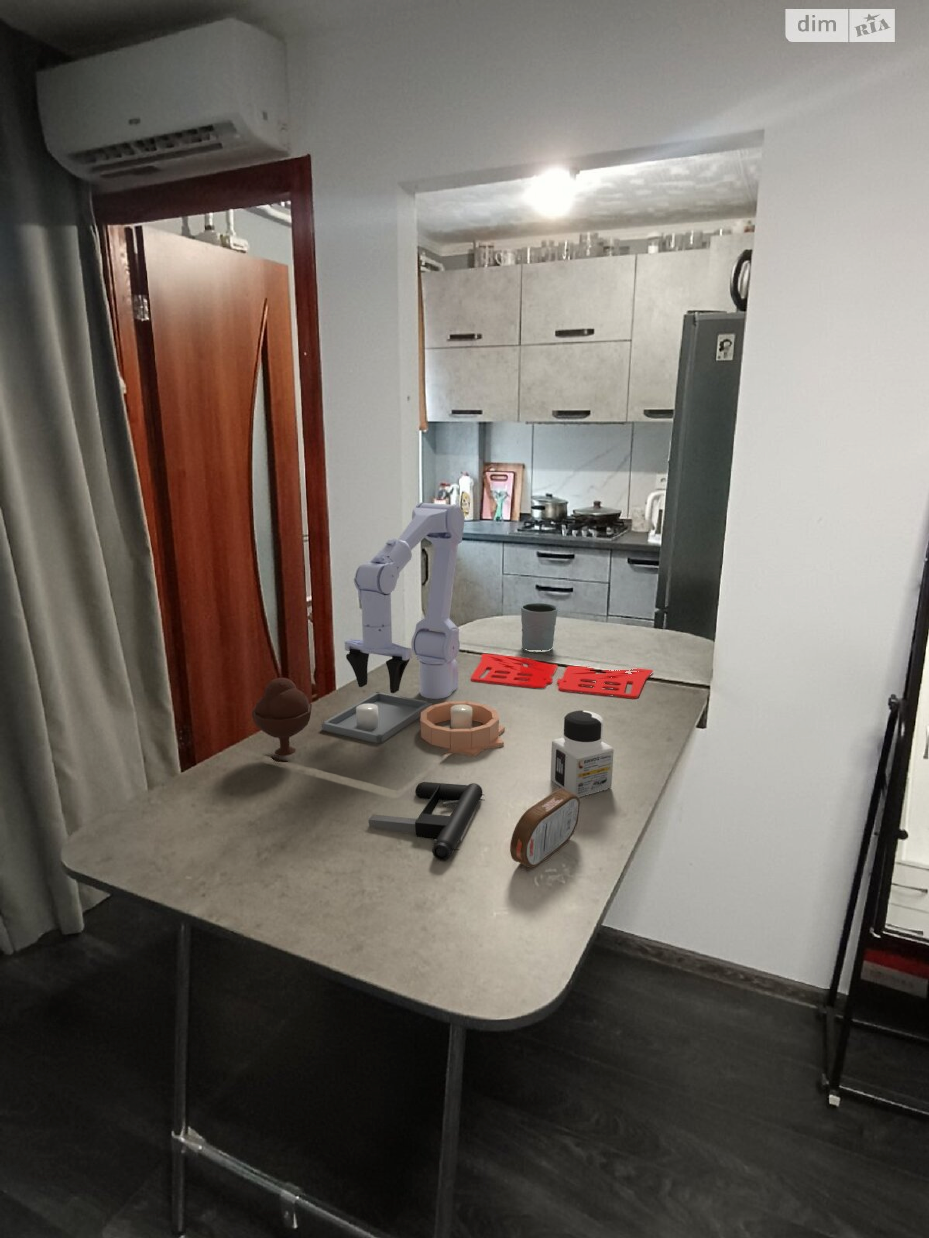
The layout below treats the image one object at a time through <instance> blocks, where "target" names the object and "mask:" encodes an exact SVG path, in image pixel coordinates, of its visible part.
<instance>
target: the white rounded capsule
mask: <svg viewBox="0 0 929 1238" xmlns="http://www.w3.org/2000/svg"><path fill="white" fill-rule="evenodd" d="M356 717H357V728H358V729H361V730H373V729H375V728H377V727H378V726H379V723H378V706H377V705H375V704H361V705H359V706H357V707H356Z"/></svg>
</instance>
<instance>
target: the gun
mask: <svg viewBox="0 0 929 1238" xmlns="http://www.w3.org/2000/svg"><path fill="white" fill-rule="evenodd" d="M414 793H415V796H416V797H417V798H418V799H423V800H424V799H425V800H428V801H427V803H426V805H425V806H424V808H423V810H422V811H421V812H420V814H418V817H417V818H414V817H413V818H412V817H403V816H402V817H401V816H393V815H381V814H372V815H371V816H370V817H369V818H368V827H369V828H373V829H378V830H379V829H380V830H385V831H392V832H399V833H403V834H404V833H405V834H411V835H412V834H414V835H415V837H416V838H421V839H422V838H423V839H429V840H435V842H434V843H433V848H432V856H433V857H434V858H435V859H436V860H438V861H441V862H442V861H446V860H447V859H449V857H451V856H452V854H453V853H454V851H460V849H459V848H456V847H457V846H458V843H459V842H462V841H463V839H464V838H463V837H464V836H465V834H466V833H467V830H468V828H469V826H470V825H471V822H472V820H473V818H474V816H475V814H476V811H475V810H476V808H477V806H478V805H479V802H480V801H484V799H482V796H484V794H483V788H482V786H481V785H479V784H478V783H476V782H475V783H474V782H473V783H470V784H468V785H467V784H458V783H457V784H456V783H455V784H454V783H444V782H428V781H422V782H419V783H418V785H416V787H415V792H414ZM440 801H445V802H442V803H441V805H442V807H443V808H445V807H450V806H454V808H453V810H452V811H451V813H450V815H445V814H444V815H443V814H433V812H434V811H435V808H436V807H437V805H438V804H439V803H440Z"/></svg>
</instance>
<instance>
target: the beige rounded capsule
mask: <svg viewBox="0 0 929 1238" xmlns="http://www.w3.org/2000/svg"><path fill="white" fill-rule="evenodd" d="M471 728H473V721H472V707H471V706H469V705H454V706H452V707H451V720H450V729H471Z"/></svg>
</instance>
